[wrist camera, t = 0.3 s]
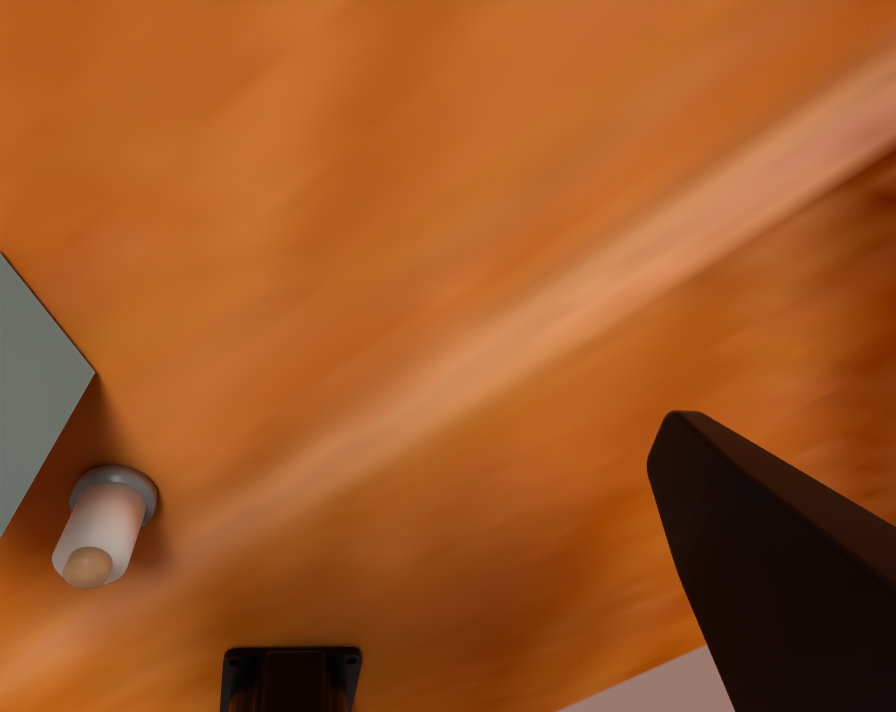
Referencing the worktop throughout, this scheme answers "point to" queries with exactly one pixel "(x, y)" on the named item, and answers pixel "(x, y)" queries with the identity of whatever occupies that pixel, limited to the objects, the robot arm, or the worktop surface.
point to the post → (103, 525)
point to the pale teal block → (31, 387)
